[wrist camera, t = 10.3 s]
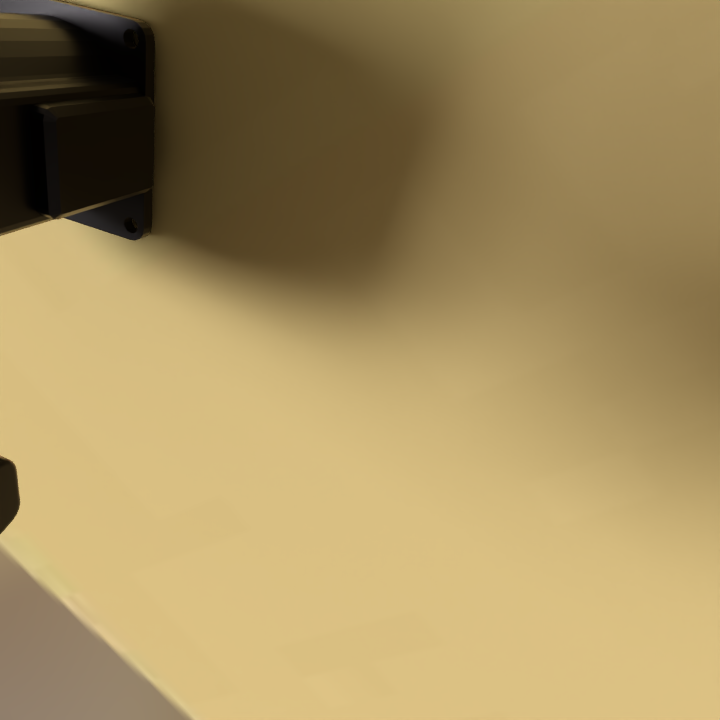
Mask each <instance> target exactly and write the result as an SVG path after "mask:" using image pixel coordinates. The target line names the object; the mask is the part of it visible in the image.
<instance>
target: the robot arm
mask: <svg viewBox="0 0 720 720" xmlns="http://www.w3.org/2000/svg"><path fill="white" fill-rule="evenodd" d="M134 31H135V32H136V34H137V35H138V40H139V42H138V46H137V47H136V46H135V44H134V43H133V38H132V37H133V32H134ZM154 57H155V41H154V34H153V32H152V30H151V28H150V27H149V26H148V24H147V23H146V22H144V21H142V20H139V19H135V18H131V17H126V16H122V15H118V14H114V13H109V12H105V11H101V10H97V9H92V8H88V7H84V6H80V5H75V4H71V3H67V2H63V1H58V0H0V236H1V235H5V234H8V233H11V232H15V231H18V230H21V229H24V228H28V227H31V226H34V225H37V224H41V223H44V222H47V221H50V220H54V219H61V218H66V219H69V220H72V221H75V222H78V223H81V224H84V225H87V226H90V227H93V228H96V229H99V230H102V231H105V232H108V233H111V234H114V235H117V236H121V237H124V238H127V239H130V240H138V239H140V238H143V237H145V236H148V234H149V233H150V232H151V227H152V186H153V172H154V117H155V107H154ZM132 219H134V220H135V222H136V223H137V227H138V228H137V229H136V228H135V227H134V225H133V222H132ZM19 506H20V496H19V487H18V479H17V470H16V466H15V464H14V463H13V462H12V461H11V460H9V459H7V458H4V457H2V456H0V534H1V533H2V532H3V531H4V530H5V528H6V527H7V526H8V525H9V524H10V523H11V522H12V520H13V519H14V518H15V516H16V514H17V512H18V510H19Z"/></svg>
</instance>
